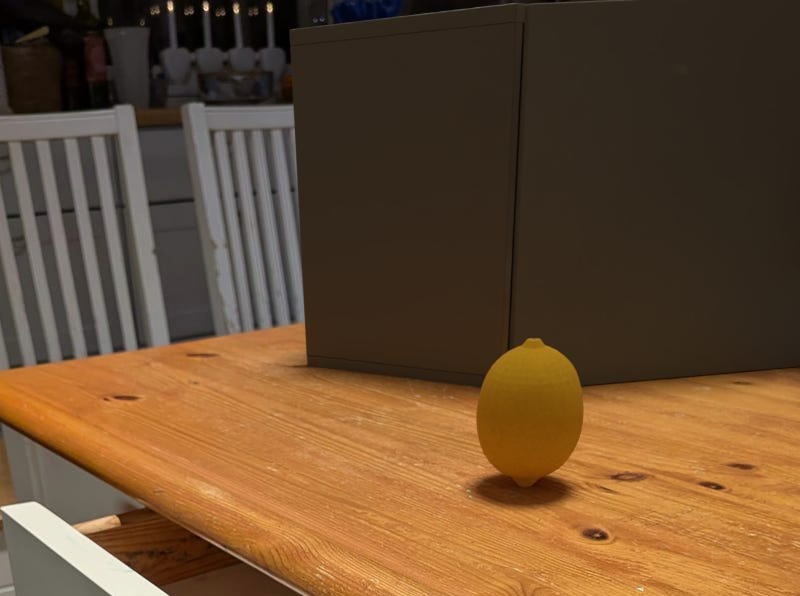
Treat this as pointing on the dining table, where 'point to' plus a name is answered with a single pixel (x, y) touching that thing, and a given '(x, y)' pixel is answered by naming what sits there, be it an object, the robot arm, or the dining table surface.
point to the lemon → (530, 412)
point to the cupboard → (409, 190)
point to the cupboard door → (659, 187)
